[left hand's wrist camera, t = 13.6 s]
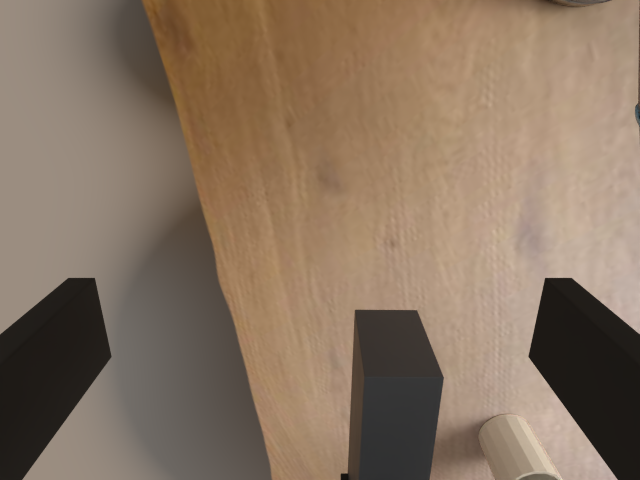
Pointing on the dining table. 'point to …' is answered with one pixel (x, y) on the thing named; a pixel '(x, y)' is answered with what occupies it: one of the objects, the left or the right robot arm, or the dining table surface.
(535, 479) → the white cup
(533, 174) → the dining table surface
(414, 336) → the beam
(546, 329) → the left robot arm
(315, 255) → the dining table surface
